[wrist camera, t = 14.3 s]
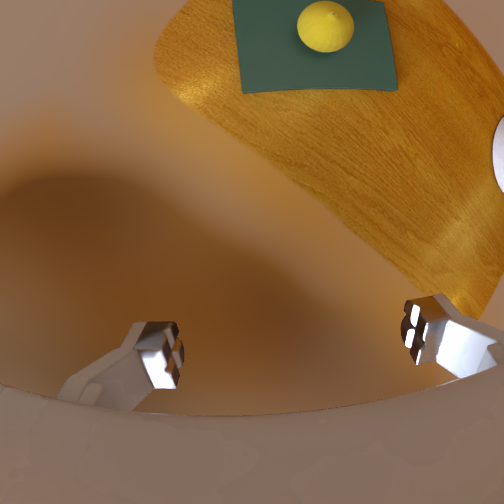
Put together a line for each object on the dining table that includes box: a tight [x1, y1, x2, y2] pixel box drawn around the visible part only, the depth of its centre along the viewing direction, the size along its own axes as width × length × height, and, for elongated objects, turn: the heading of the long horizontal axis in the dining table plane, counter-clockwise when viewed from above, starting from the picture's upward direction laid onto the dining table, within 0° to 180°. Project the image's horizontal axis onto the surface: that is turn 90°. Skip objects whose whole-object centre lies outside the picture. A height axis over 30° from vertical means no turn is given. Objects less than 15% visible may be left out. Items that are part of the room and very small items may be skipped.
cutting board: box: [232, 0, 398, 94], centre depth 28 cm, size 18×12×2 cm, turn 96°
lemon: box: [297, 1, 354, 52], centre depth 23 cm, size 6×6×8 cm
